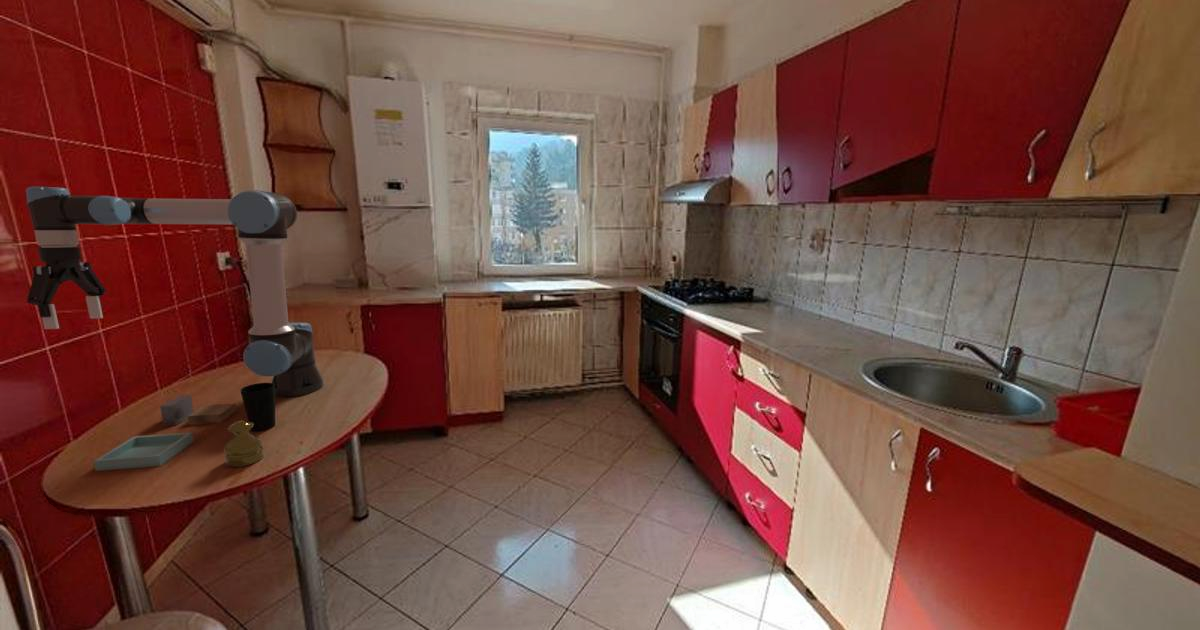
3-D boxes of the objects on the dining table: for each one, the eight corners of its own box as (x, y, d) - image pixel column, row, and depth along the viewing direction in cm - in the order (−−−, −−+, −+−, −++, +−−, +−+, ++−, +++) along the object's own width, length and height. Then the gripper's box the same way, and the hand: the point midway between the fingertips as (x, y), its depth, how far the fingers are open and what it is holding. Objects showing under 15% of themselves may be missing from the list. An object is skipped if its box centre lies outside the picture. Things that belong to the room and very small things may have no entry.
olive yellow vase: (222, 470, 108) (216, 430, 106) (230, 456, 114) (224, 418, 112) (261, 463, 111) (256, 424, 109) (266, 450, 118) (261, 413, 116)
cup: (286, 424, 132) (281, 384, 130) (259, 436, 125) (253, 393, 123) (266, 420, 134) (261, 381, 132) (239, 431, 127) (233, 390, 125)
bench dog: (193, 414, 138) (190, 394, 137) (176, 425, 130) (173, 405, 129) (182, 414, 137) (178, 395, 136) (163, 426, 129) (160, 406, 128)
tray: (193, 441, 121) (192, 432, 121) (160, 465, 109) (158, 456, 109) (136, 445, 118) (134, 436, 118) (95, 471, 106) (93, 461, 106)
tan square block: (236, 412, 140) (235, 403, 140) (221, 423, 133) (220, 414, 132) (205, 414, 139) (204, 405, 138) (189, 426, 131) (187, 416, 130)
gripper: (83, 243, 136) (98, 314, 140) (-9, 249, 112) (12, 334, 116) (113, 244, 137) (127, 314, 142) (29, 249, 113) (48, 333, 118)
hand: (75, 323), depth 129 cm, fingers open, 13 cm apart
